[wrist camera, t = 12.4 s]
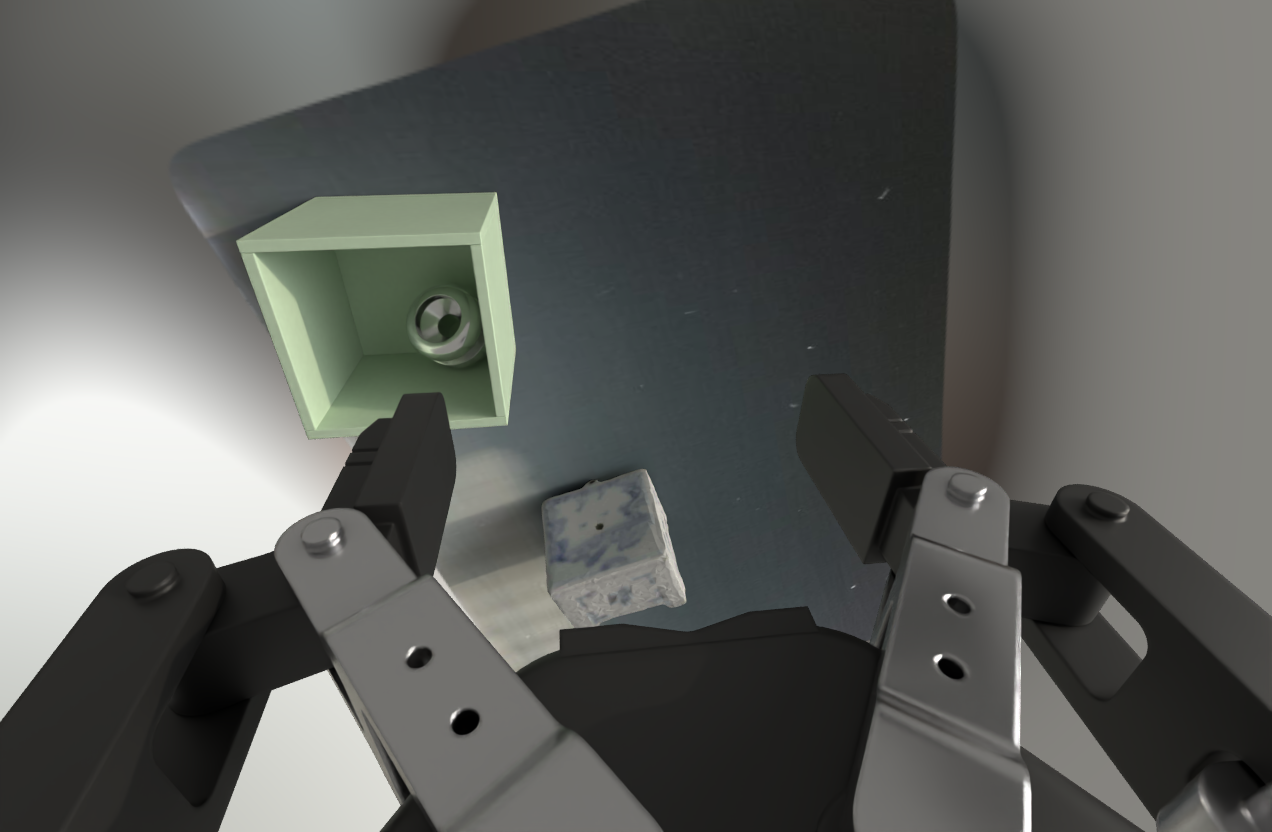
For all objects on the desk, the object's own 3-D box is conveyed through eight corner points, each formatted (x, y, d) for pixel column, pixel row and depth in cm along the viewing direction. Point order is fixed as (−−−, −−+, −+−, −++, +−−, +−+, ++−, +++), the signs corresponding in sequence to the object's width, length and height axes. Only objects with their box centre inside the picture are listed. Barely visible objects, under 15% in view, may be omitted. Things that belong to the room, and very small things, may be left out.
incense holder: (572, 555, 54) (576, 648, 46) (539, 492, 50) (537, 582, 41) (669, 523, 54) (693, 612, 45) (645, 457, 50) (666, 541, 41)
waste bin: (314, 196, 36) (235, 240, 26) (496, 192, 37) (480, 232, 28) (360, 358, 41) (307, 440, 32) (515, 349, 43) (507, 425, 34)
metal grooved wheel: (412, 329, 39) (452, 383, 38) (387, 315, 36) (429, 373, 35) (467, 282, 39) (509, 335, 38) (446, 265, 36) (490, 321, 35)
